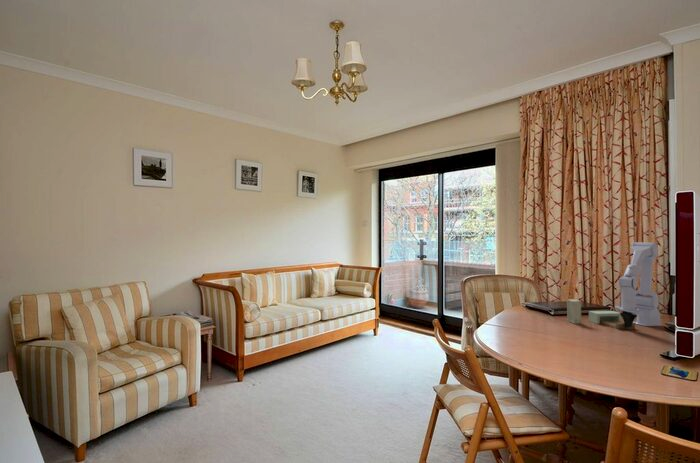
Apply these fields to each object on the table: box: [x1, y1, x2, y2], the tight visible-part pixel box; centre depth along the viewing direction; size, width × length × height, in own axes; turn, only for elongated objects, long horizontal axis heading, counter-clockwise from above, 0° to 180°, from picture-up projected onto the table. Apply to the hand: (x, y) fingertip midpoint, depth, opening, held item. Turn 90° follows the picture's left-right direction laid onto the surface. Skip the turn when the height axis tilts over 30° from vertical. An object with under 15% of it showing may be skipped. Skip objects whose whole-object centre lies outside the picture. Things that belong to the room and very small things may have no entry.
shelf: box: [588, 310, 622, 325], centre depth 196 cm, size 14×6×6 cm, turn 94°
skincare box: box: [566, 298, 582, 325], centre depth 195 cm, size 6×4×12 cm
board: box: [599, 321, 636, 330], centre depth 187 cm, size 9×12×3 cm
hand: (628, 327), depth 180 cm, fingers closed
